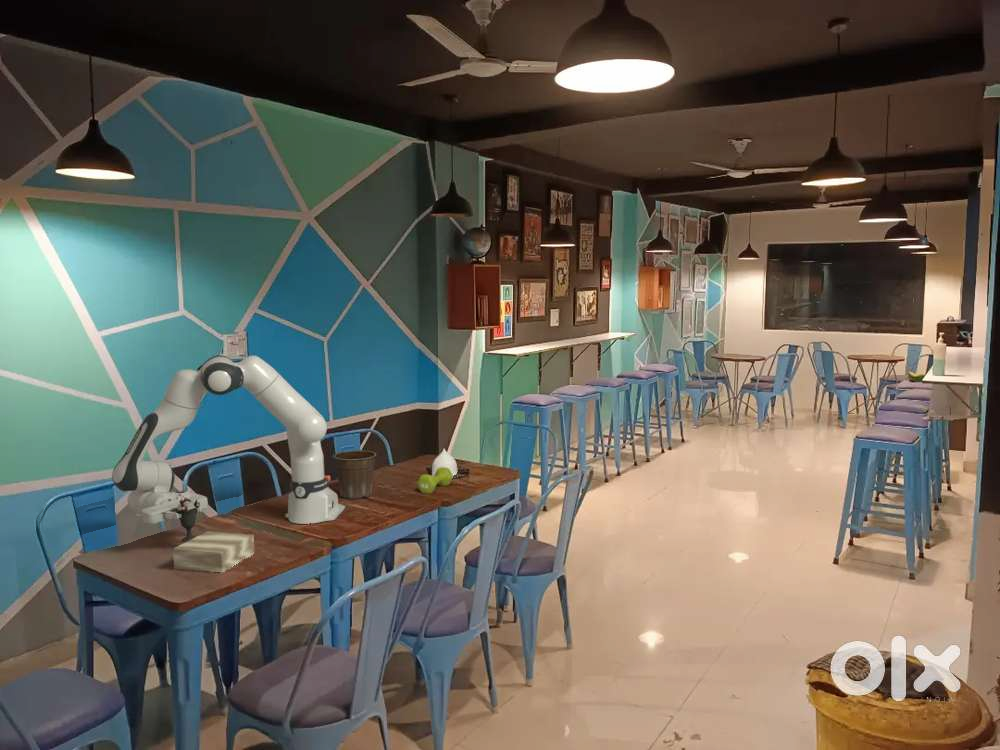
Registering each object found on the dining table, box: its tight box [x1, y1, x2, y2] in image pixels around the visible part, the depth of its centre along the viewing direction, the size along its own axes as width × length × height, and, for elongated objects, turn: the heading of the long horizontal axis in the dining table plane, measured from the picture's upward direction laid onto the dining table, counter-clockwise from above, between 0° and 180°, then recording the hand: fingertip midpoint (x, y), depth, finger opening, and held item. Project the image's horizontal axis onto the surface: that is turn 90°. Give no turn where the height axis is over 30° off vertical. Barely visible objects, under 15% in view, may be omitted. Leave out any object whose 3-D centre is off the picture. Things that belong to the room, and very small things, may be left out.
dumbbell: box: [417, 467, 454, 495], centre depth 299 cm, size 16×8×7 cm, turn 153°
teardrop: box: [431, 448, 458, 477], centre depth 320 cm, size 11×11×12 cm
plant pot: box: [333, 450, 377, 500], centre depth 291 cm, size 16×16×16 cm
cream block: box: [172, 530, 255, 574], centre depth 222 cm, size 16×16×6 cm
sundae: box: [176, 494, 199, 543], centre depth 233 cm, size 7×7×15 cm
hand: (189, 513), depth 232 cm, fingers closed on sundae, 5 cm apart
